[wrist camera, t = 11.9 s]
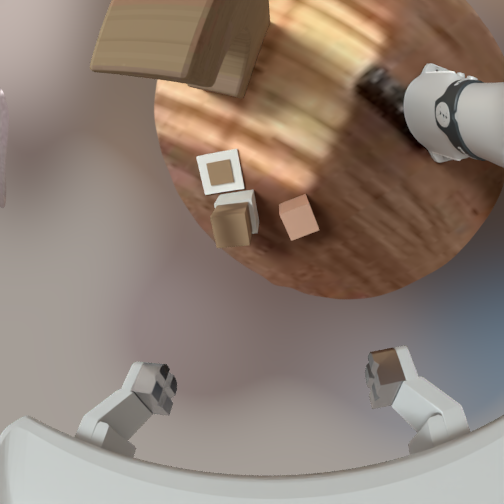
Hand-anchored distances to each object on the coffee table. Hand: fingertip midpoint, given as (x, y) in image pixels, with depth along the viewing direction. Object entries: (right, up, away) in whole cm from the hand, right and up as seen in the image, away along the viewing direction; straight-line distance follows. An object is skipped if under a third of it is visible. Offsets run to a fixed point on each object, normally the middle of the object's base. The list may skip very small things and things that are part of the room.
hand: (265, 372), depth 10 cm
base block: (-3, +12, +38) cm, 41 cm away
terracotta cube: (+8, +12, +38) cm, 40 cm away
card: (-6, +18, +35) cm, 40 cm away
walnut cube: (-3, +10, +34) cm, 36 cm away
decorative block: (-3, +36, +25) cm, 44 cm away
